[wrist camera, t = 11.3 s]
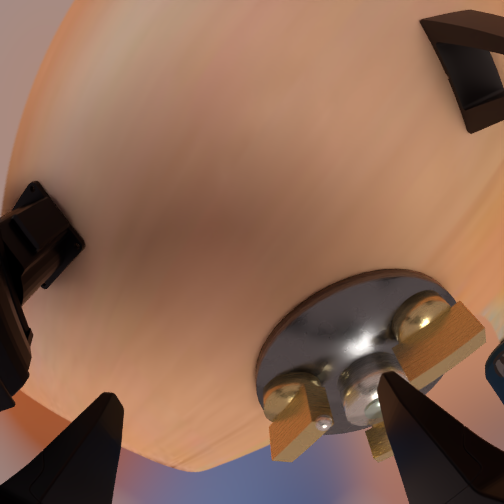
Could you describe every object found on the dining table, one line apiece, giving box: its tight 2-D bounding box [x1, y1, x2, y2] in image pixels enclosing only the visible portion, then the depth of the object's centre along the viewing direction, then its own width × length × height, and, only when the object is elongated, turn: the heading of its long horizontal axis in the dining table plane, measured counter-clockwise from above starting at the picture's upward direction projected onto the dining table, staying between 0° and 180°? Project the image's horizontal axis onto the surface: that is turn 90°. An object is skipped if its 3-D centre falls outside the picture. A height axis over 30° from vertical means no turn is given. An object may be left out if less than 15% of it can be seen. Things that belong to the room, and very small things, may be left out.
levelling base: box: [256, 269, 486, 462], centre depth 22 cm, size 20×20×7 cm
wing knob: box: [263, 372, 334, 462], centre depth 20 cm, size 7×5×6 cm
